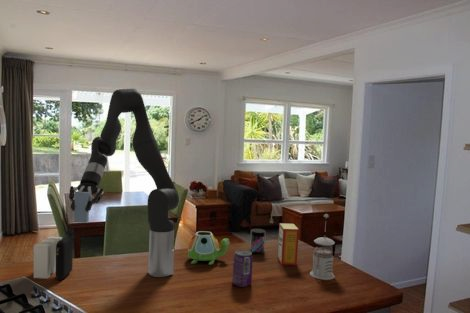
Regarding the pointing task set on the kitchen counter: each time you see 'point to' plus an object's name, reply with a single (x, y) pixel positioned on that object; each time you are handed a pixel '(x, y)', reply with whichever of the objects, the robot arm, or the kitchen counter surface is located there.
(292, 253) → the baking soda box
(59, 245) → the carrying case or bag
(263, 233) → the supplement container
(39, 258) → the ivory domino
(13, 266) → the kitchen counter surface
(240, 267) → the beverage can
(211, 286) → the kitchen counter surface
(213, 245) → the turtle holder
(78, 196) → the blue-grey rectangular block
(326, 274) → the french press
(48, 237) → the ivory domino
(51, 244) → the ivory domino
